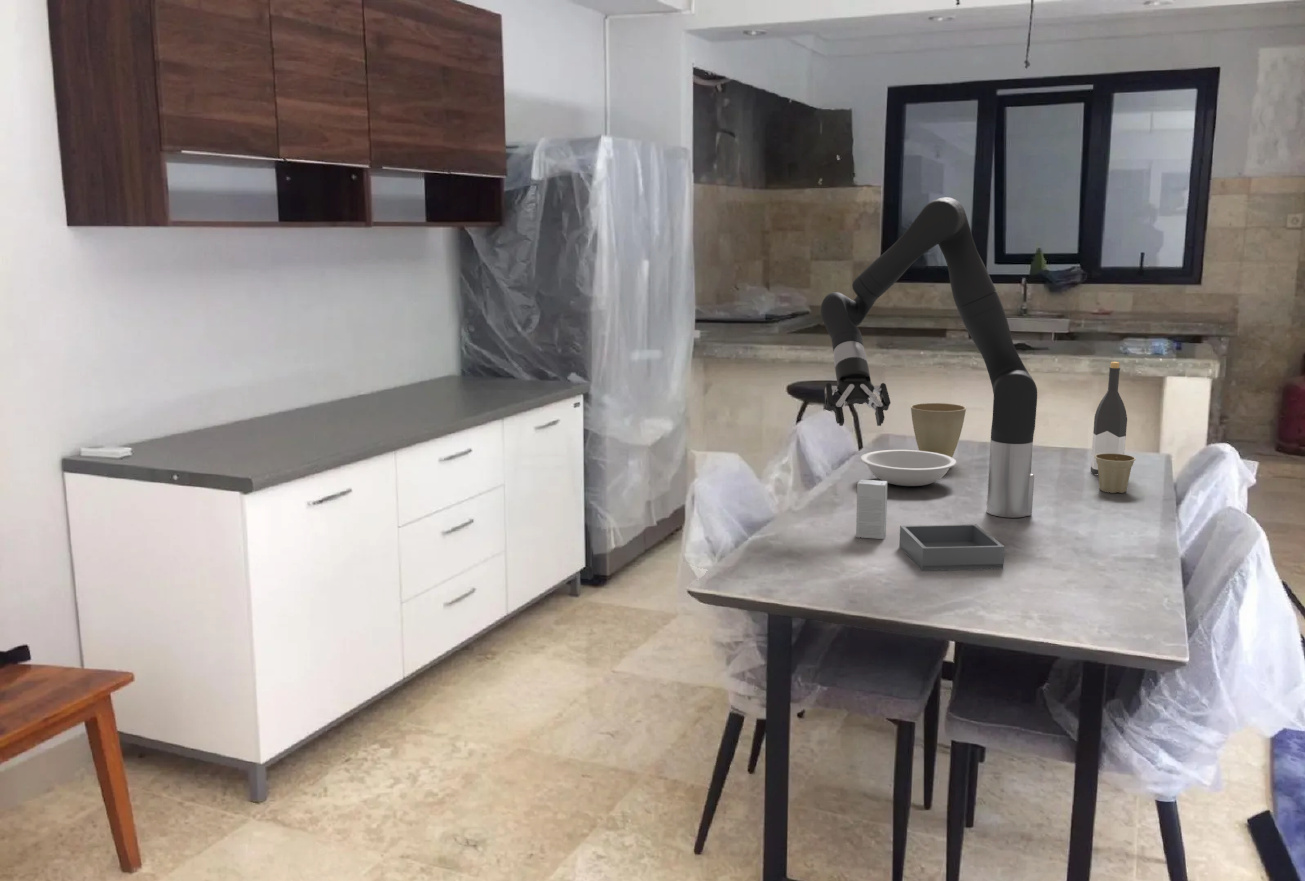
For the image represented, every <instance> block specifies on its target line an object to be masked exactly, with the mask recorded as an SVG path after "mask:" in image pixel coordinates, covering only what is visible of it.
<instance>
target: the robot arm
mask: <svg viewBox="0 0 1305 881" xmlns="http://www.w3.org/2000/svg"><path fill="white" fill-rule="evenodd" d="M937 245H938V248H939V250H940V251H941V253H942V255H943V258H944V260H945V262H946V265H947V270H948V276H949V283H950V289H951V293H952V296H953V297H952V298H953V301H954V303H955V306H956V309H957V311H958V314H959V315H960V319H961V321H962V323H963V325H964V327H965V329H966V331H967V332H968V334H969V336H970V338H971V339H972V341H973V343H974V345H975V346H976V348H977V349H978V351H979V353H980V355H981V357H982V359H983V361H984V363H985V367H986V371H987V372H988V377H989V379H990V383H991V388H992V393H993V401H992V402H993V403H992V404H993V405H992V418H991V419H992V422H991V429H990V446H989V464H988V477H987V478H988V481H987V495H986V496H987V498H986V499H987V501H986V512H987V514H988V515H992V516H996V517H1000V518H1010V519H1011V518H1015V519H1016V518H1023V517H1027V516H1028V517H1029V516H1032V515H1033V503H1034V502H1033V500H1034V488H1035V487H1034V486H1035V475H1034V474H1033V473H1032V462H1033V446H1034V437H1035V436H1034V435H1035V430H1036V419H1037V418H1036V416H1037V404H1038V387H1037V384H1036V383H1035V382H1036V381H1034V379H1033V377H1032V376H1031V373H1029V371H1028V369H1027V368H1026V367H1025V365H1024V363H1023V361H1022V359H1021V356H1020V355H1019V353H1018V351H1017V349H1016V347H1015V344H1014V341H1013V339H1012V333H1011V330H1010V325H1009V323H1008V319H1007V315H1006V312H1005V309H1004V307H1003V303H1002V301H1001V299H1000V295H999V294H998V292H997V289H996V287H995V284H994V282H993V281H992V278H991V276H990V274H989V271H988V269H987V268H986V266H985V263H984V261H983V259H982V258H981V255H980V254H979V251H978V249H977V246H976V243H975V240H974V237H973V234H972V231H971V227H970V223H969V220H968V217H967V212H966V210H965V208H964V206H963V205H962V204H961V203H960V202H959V200H957V199H954V198H952V197H949V196H948V197H947V196H946V197H945V196H943V197H939V198H935V199H933V200H931V201H929V202H928V203H927V204H926V205H925V206H924V207H923V208H922V210H921V211H920V212H919V214H918V215H917V216H916V218H915V219H914V221H913V222H912V223H911V224H910V226H909V227H908V228H907V229H906V230H905V232H904V233H903V234H902V235H901V236H899V238H898V239H897V240H896V241H895V242H894V243H893V244H892V245H891V246H890V247H889V248H887V250H886V251H884V252H883V253H882V254H881V255H880V256H879V257H878V258H876V259H875V260H874V261H873V262H872V263H871V264H870V265H869V266H868V267H866V268H865V269H864V270H863V271H862V272H860V274H859V275H858V276H857V277H856V278H855V279H854V280H853V281H852V285H851V286H852V290H853V293H855V295H856V297H855V298H854V299H851V298H849V297H848V296H847V295H845V294H843V293H841V292H837V291H835V292H834V291H833V292H830V293H828V294H827V295H826V296H825V297H824V298H823V300H822V302H821V304H820V315H821V319H822V320H821V321H822V322H823V324H824V326H825V329H826V331H827V334H828V335H829V337H830V339H831V344H832V345H831V346H832V351H833V366H834V370H835V375H836V376H835V377H836V384H837V385H832V383H830V382H827V383H826V384H825V388H824V392H823V393H824V403H825V404H824V405H825V410H826V411H832V412H834V416H835V422H836V424H838V425H839V427H843V426H844V425H845V416H844V415H845V414H844V410H843V408H844V407H845V406H846V404H849V405H855V404H858V405H864V404H865V406H867V407H868V408H871V409H872V410H873V411H875V412H874V415H875V421H876V426H877V427H878V426H879V427H881V426H882V424H884V421H885V413H884V411H888V410H889V407H890V405H891V400H890V394H889V391H888V388H887V385H886V382H885V383H884V382H882V383H880V385H874V384H873V383H872V380H871V374H870V370H869V363H868V356H867V353H866V350H865V347H864V342H863V335H862V333H861V330H860V329H859V328H858V327H859V326H860V325H861V324H862V323H863V321H864V319H865V318H866V316H867V315H868V313H869V312H870V310H871V309H872V308H873V307H874V304H875V302H876V301H877V300H878V299H879V298H880V297H881V296H882V295H884V293H886V292H887V291H888V290H890V288H891V287H892V286H893V285H894V284H895V283H896V282H897V281H899V279H900V278H901V277H902V276H903V275H904V274H905V273H906V271H907V270H908V269H909V268H910V267H911V266H912V264H914V263H915V262H916V261H917V260H919V258H920V257H921V256H923V255H924V254H925V253H927V252H928V251H929V250H931V249H932V248H934V247H935V246H937ZM874 392H875V394H874ZM835 393H837V394H838V395H839V399H838V400H837V402H834V401H833V398H834V397H833V396H834V395H835ZM876 395H877V396H878V397H879V399H878V397H877V396H876Z"/></svg>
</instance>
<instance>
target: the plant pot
mask: <svg viewBox="0 0 1305 881" xmlns="http://www.w3.org/2000/svg"><path fill="white" fill-rule="evenodd" d="M966 411H967V406H964V405H961V404H956V403H946V402H942V403H941V402H927V403H926V402H925V403H922V402H921V403H915V404H912V405H910V413H911V414H910V415H911V420H912V426H913V427H912V428H913V432H914V437H915V441H916V446H917V448H918V451H927V452H934V453H939V454H943V455H947V456H949V457H952V458H954V455H955V451H956V449H957V446H958V443H959V441H960V438H961V434H962V429H963V426H964V421H965V416H966V413H967V412H966Z"/></svg>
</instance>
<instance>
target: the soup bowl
mask: <svg viewBox="0 0 1305 881" xmlns="http://www.w3.org/2000/svg"><path fill="white" fill-rule="evenodd" d="M860 461H861V462H862V463H863V464H865V465H866V466H867V467H868V469H869V471H870V472H871V474H872V475H874V476H875V477H876V478H877V479H879V481H887V484H891V485H893V486H894V485H896V486H902V487H919V486H926V485H930V484H933V483H936V482H937V481H939V480H941V479H942V478H943V477H944V476H945V475H946V474H947V472H948V471H949V470H950V469H951V468H953V467H954V466H956V465H957V460H956V458H954V457H949V456H947V455H943V454H939V453H934V452H927V451H919V449H918V450H917V449H886V450H885V449H884V450H874V451H870V452H867V453H864V454H862V455H861V456H860Z"/></svg>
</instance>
